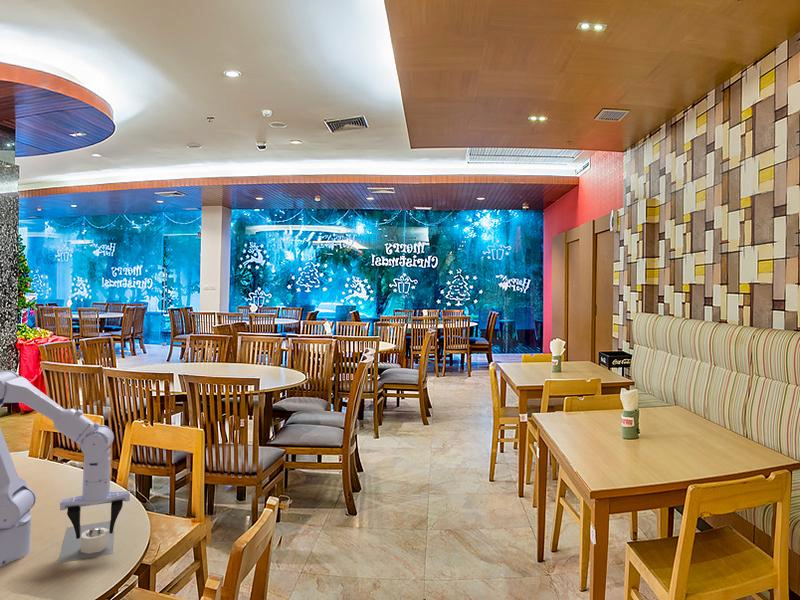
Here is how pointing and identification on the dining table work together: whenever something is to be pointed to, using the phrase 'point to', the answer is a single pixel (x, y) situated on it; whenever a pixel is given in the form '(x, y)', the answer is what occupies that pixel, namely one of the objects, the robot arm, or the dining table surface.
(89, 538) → the cream ring
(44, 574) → the dining table surface
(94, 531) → the steel post
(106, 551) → the gray board
